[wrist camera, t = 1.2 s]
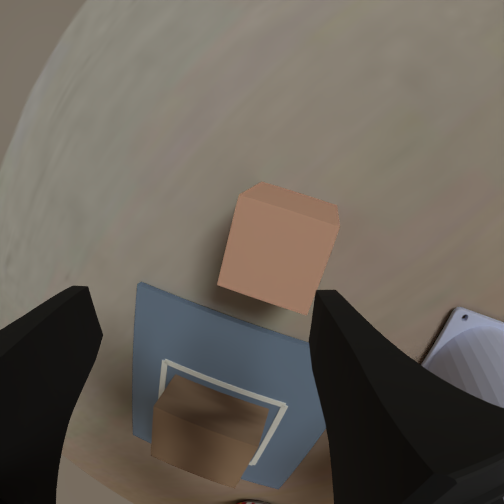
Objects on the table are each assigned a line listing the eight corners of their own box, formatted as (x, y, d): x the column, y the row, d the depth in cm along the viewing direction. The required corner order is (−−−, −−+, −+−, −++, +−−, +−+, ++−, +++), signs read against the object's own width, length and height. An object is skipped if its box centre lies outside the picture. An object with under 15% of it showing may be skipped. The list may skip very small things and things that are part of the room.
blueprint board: (366, 359, 20) (366, 365, 20) (279, 485, 28) (278, 489, 27) (140, 281, 22) (136, 284, 22) (135, 431, 30) (132, 435, 29)
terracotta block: (337, 205, 18) (340, 226, 13) (312, 274, 19) (306, 315, 15) (261, 181, 18) (238, 194, 14) (243, 251, 20) (217, 284, 15)
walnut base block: (269, 409, 23) (258, 446, 19) (245, 456, 26) (234, 488, 22) (175, 374, 24) (153, 406, 20) (168, 426, 27) (150, 455, 23)
